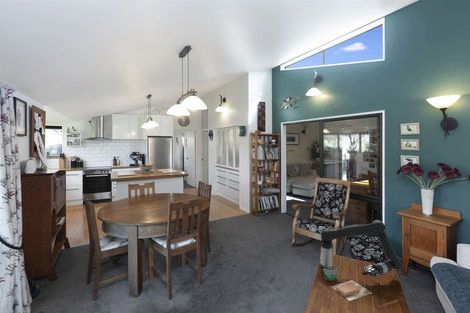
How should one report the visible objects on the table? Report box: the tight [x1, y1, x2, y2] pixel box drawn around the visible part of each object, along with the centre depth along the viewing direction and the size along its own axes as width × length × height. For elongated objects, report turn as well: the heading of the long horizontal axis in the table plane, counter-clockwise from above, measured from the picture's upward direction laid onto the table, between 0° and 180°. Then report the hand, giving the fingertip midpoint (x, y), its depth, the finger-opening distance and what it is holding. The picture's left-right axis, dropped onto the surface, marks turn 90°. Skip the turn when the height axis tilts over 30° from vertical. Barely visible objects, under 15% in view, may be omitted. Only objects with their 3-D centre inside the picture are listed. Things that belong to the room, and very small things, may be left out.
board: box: [330, 279, 373, 302], centre depth 180 cm, size 18×22×1 cm
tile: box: [335, 282, 360, 297], centre depth 179 cm, size 9×3×14 cm
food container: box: [322, 265, 339, 282], centre depth 193 cm, size 12×6×10 cm, turn 101°
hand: (362, 273), depth 183 cm, fingers closed
